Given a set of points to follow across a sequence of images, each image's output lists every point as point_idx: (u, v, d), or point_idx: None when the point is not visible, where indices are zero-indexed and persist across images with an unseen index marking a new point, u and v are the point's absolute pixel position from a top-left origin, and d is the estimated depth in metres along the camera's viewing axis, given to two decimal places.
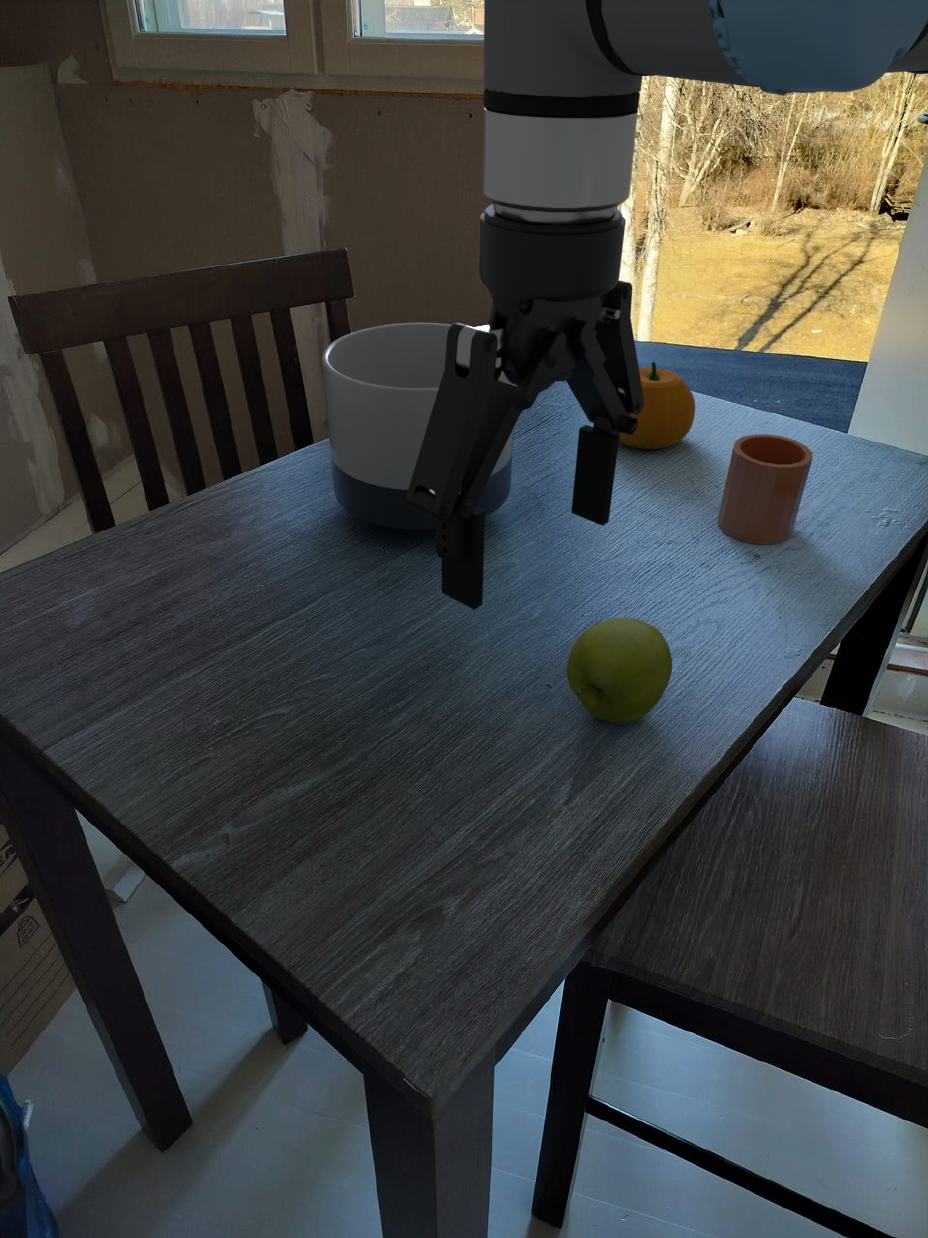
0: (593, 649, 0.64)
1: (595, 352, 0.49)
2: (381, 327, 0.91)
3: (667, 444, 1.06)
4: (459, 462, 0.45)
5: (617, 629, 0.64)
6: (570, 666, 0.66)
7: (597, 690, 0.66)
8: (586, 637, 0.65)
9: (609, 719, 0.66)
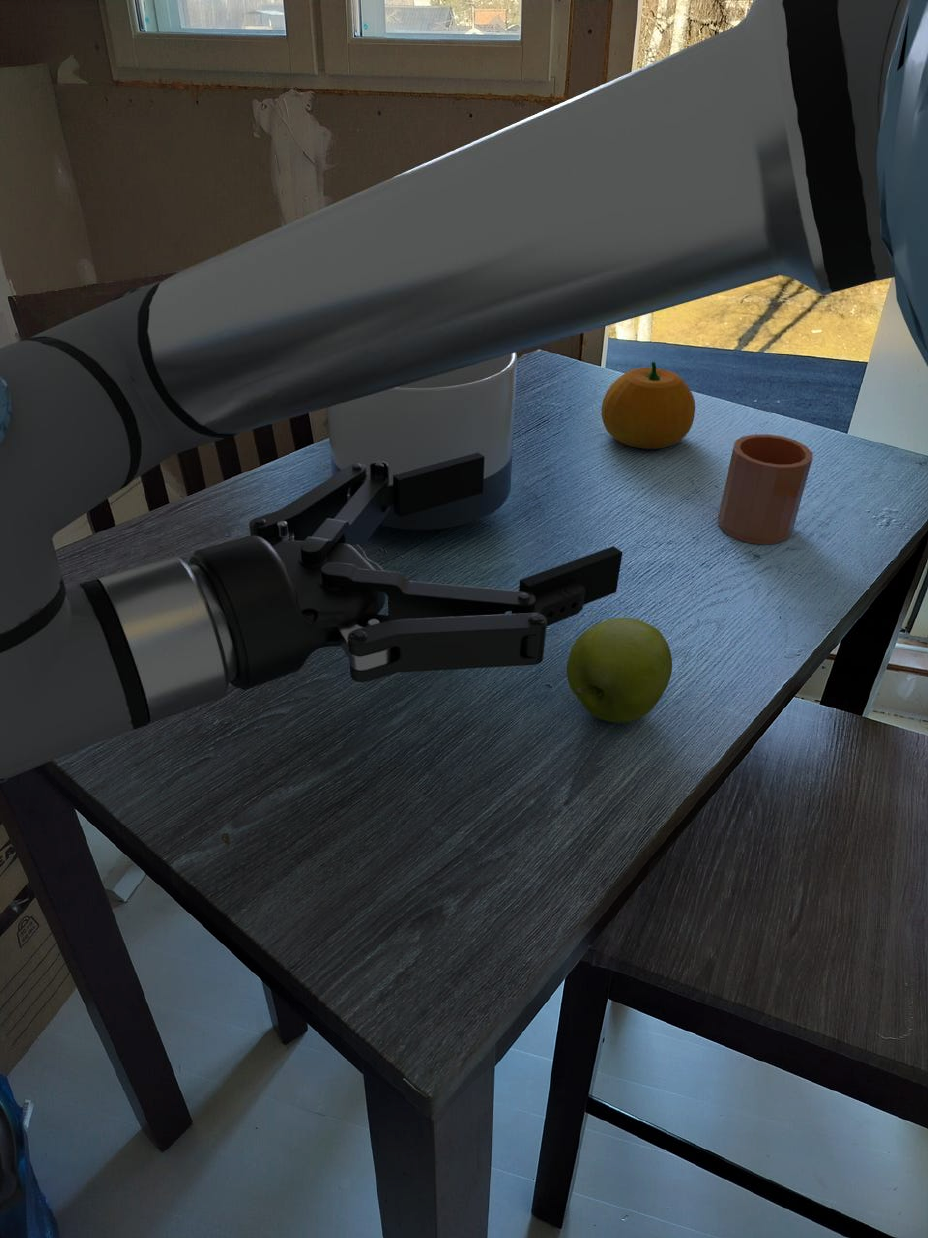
0: (593, 649, 0.64)
1: (325, 530, 0.47)
2: None
3: (667, 444, 1.06)
4: (482, 623, 0.42)
5: (617, 629, 0.64)
6: (570, 666, 0.66)
7: (597, 690, 0.66)
8: (586, 637, 0.65)
9: (609, 719, 0.66)
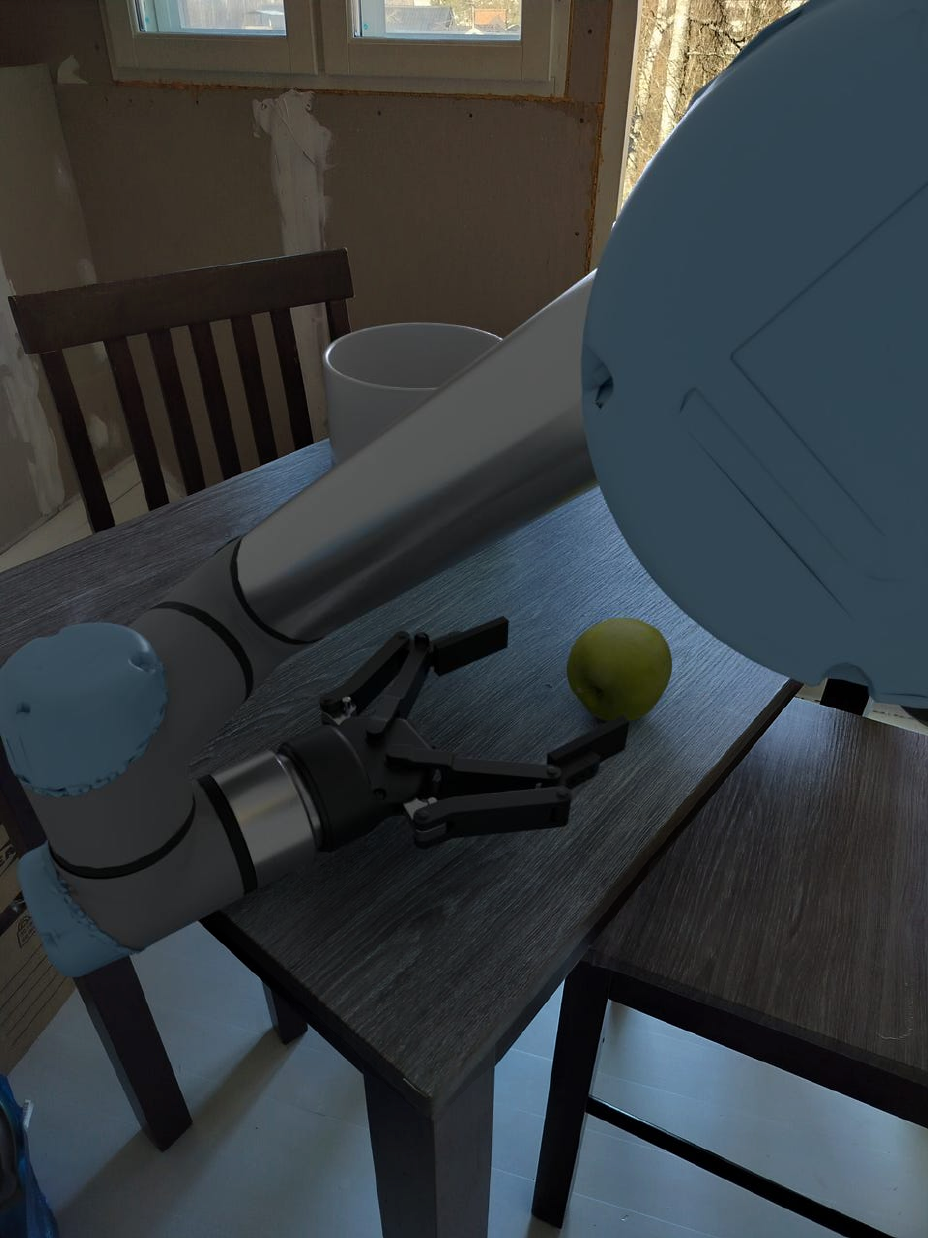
0: (593, 649, 0.64)
1: (384, 708, 0.57)
2: (381, 327, 0.91)
3: None
4: (520, 799, 0.52)
5: (617, 629, 0.64)
6: (570, 666, 0.66)
7: (597, 690, 0.66)
8: (586, 637, 0.65)
9: (609, 719, 0.66)
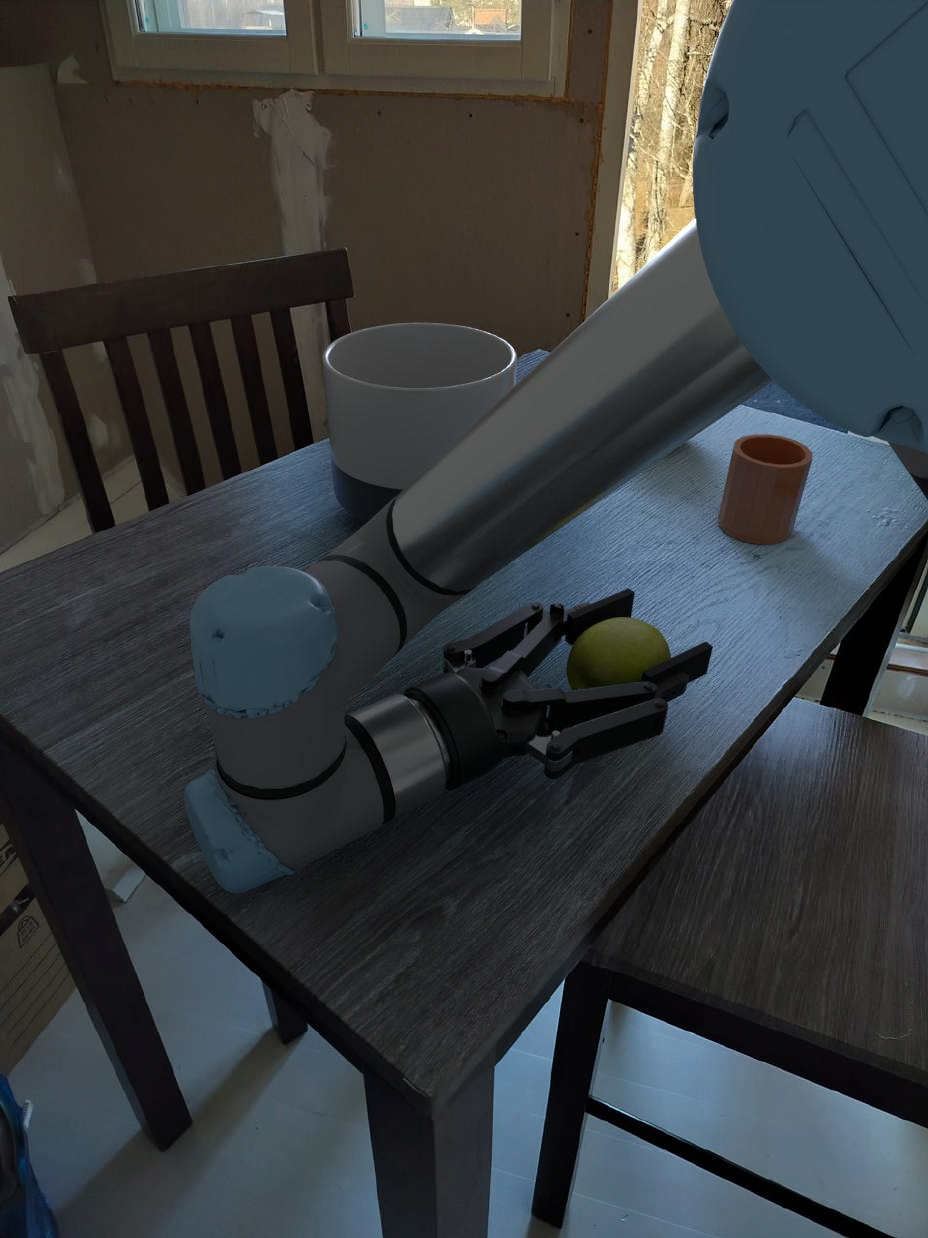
0: (593, 648, 0.64)
1: (503, 662, 0.62)
2: (381, 327, 0.91)
3: None
4: (628, 715, 0.58)
5: (617, 629, 0.64)
6: (570, 666, 0.66)
7: None
8: (586, 637, 0.65)
9: None
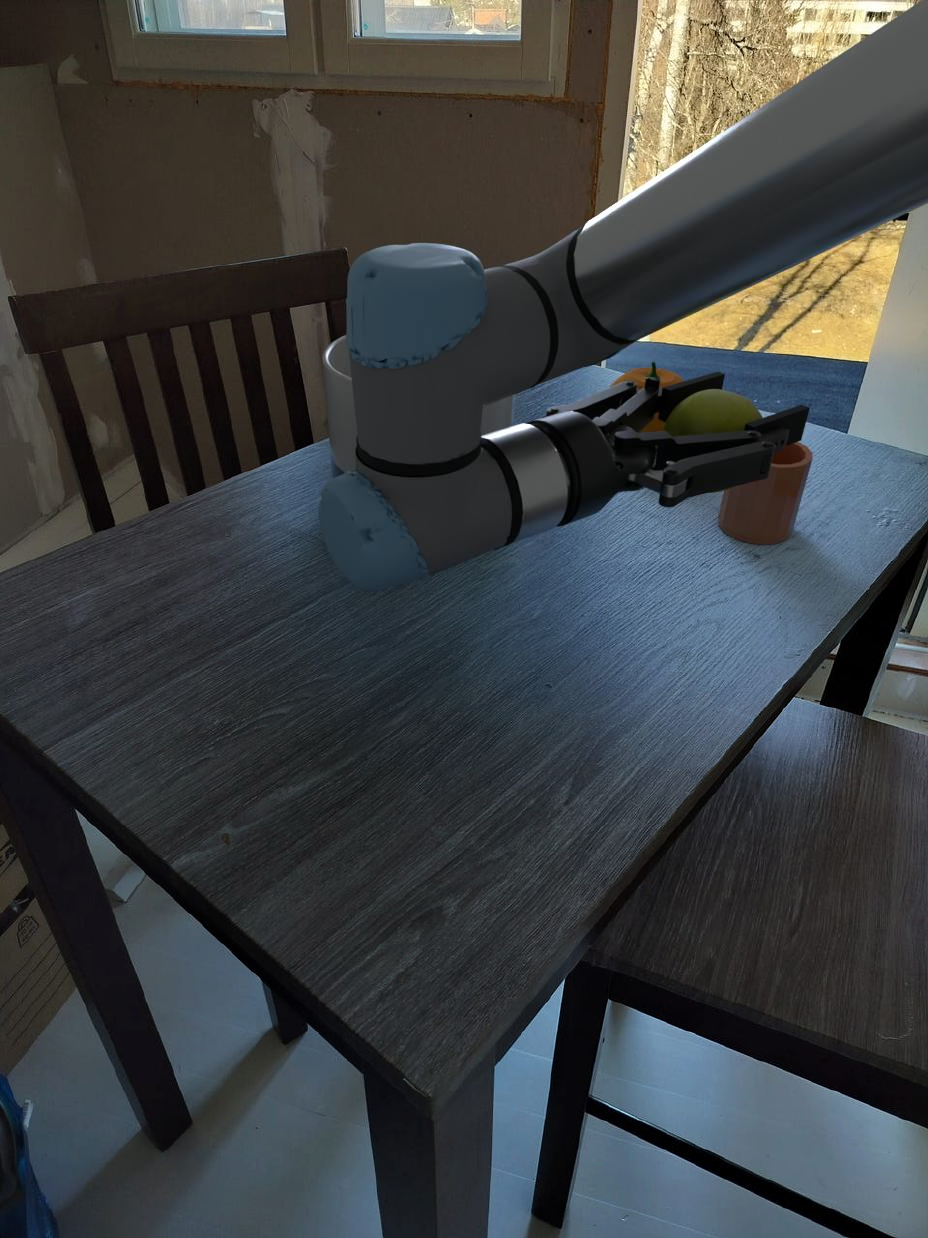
0: (692, 410, 0.65)
1: (609, 415, 0.63)
2: None
3: None
4: (738, 451, 0.59)
5: (715, 393, 0.66)
6: None
7: None
8: (684, 403, 0.66)
9: None
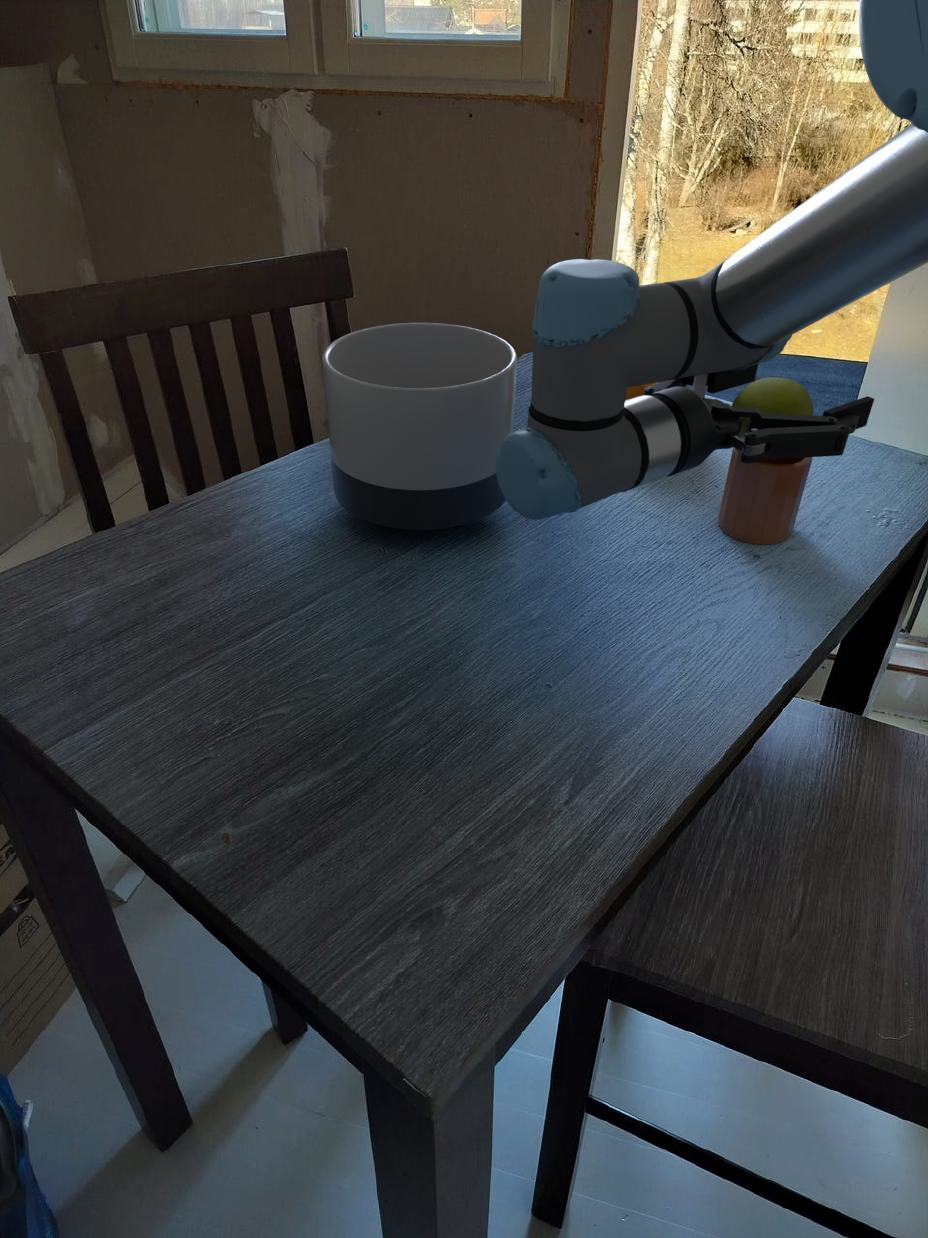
0: (747, 399, 0.83)
1: (697, 390, 0.80)
2: (381, 327, 0.91)
3: None
4: (815, 429, 0.74)
5: (763, 382, 0.83)
6: None
7: None
8: (740, 395, 0.84)
9: None
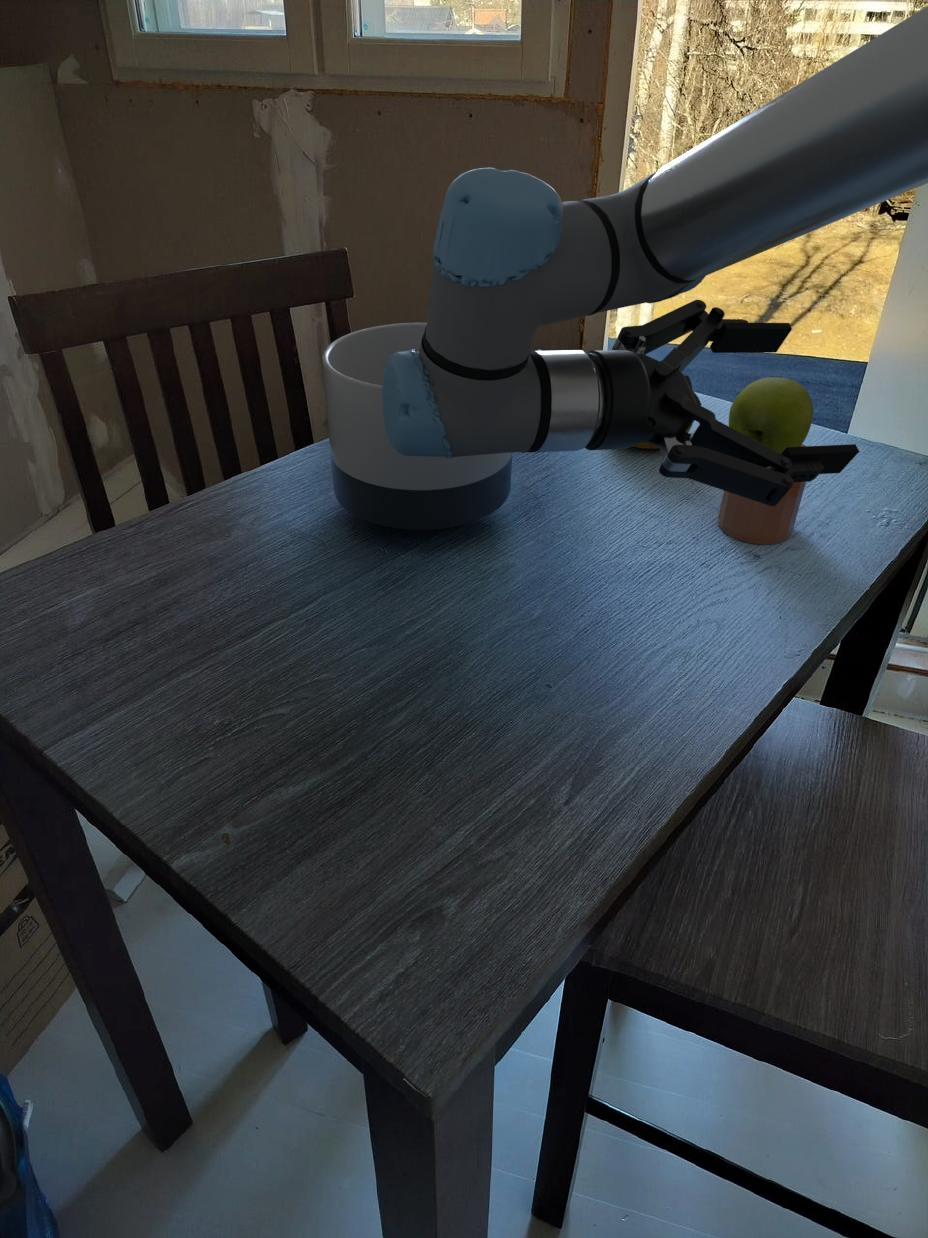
0: (747, 399, 0.83)
1: (672, 358, 0.68)
2: (381, 327, 0.91)
3: None
4: (754, 470, 0.64)
5: (763, 382, 0.83)
6: (732, 422, 0.85)
7: (757, 436, 0.85)
8: (740, 395, 0.84)
9: None
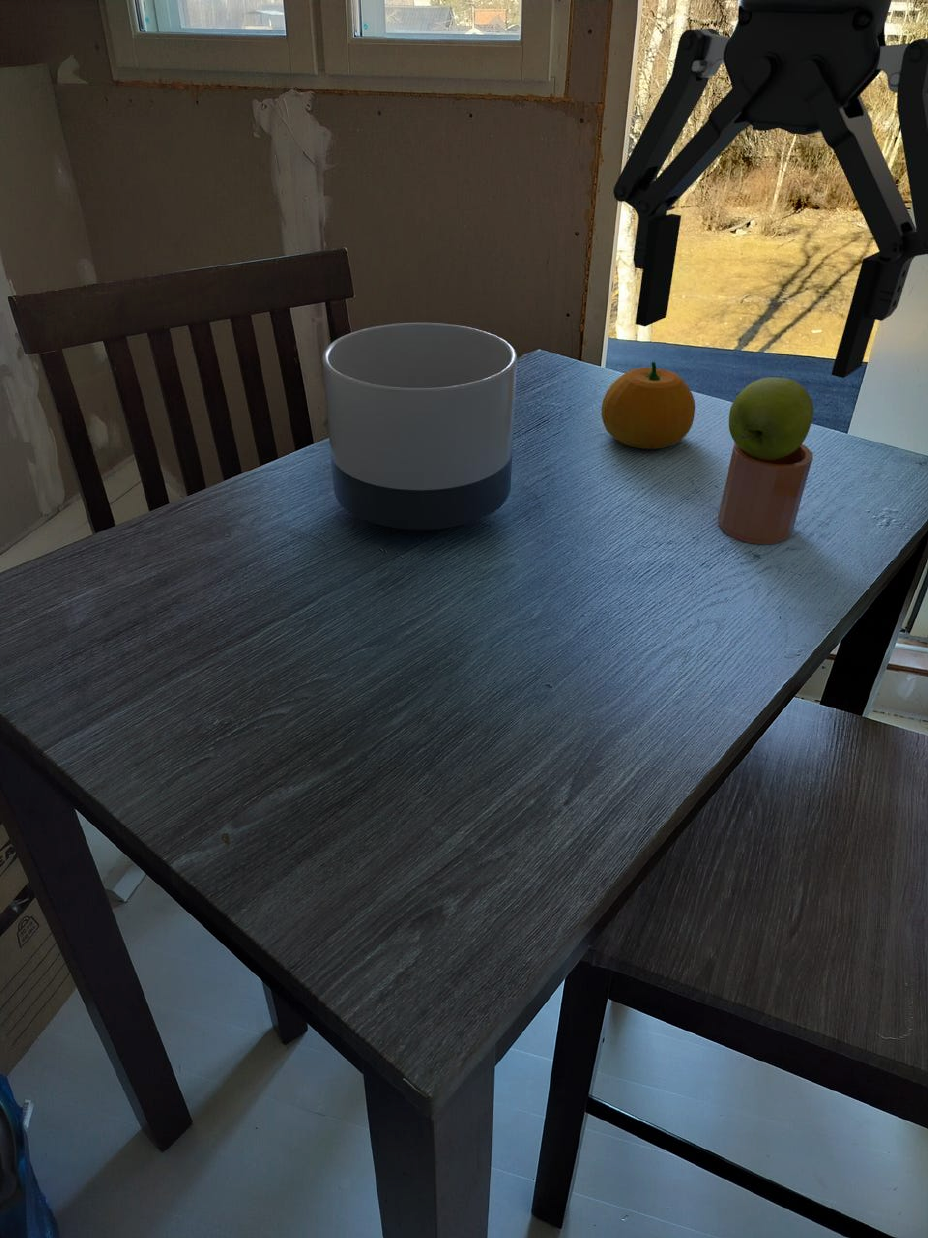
0: (747, 399, 0.83)
1: (827, 108, 0.44)
2: (381, 327, 0.91)
3: (667, 444, 1.06)
4: (640, 151, 0.52)
5: (763, 382, 0.83)
6: (732, 422, 0.85)
7: (757, 436, 0.85)
8: (740, 395, 0.84)
9: (771, 454, 0.84)
